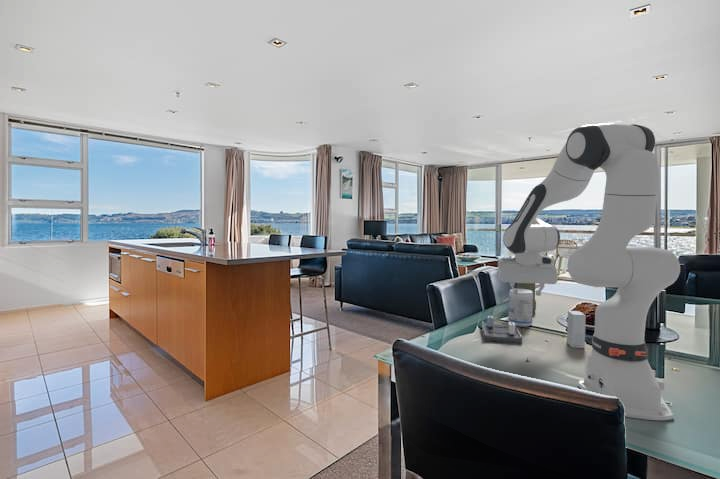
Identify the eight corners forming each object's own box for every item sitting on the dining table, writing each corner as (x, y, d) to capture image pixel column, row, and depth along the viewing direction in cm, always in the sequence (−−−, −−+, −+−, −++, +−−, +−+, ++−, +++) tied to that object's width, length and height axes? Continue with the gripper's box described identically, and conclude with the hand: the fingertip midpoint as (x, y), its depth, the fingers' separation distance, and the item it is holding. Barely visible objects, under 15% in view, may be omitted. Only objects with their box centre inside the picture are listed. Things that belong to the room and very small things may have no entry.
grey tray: (522, 343, 139) (522, 337, 138) (484, 341, 142) (485, 334, 142) (514, 329, 156) (514, 323, 156) (481, 327, 159) (481, 321, 159)
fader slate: (493, 327, 151) (493, 317, 151) (488, 326, 152) (488, 317, 152) (492, 324, 155) (492, 315, 155) (487, 324, 155) (487, 315, 155)
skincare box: (585, 348, 134) (586, 315, 133) (571, 347, 134) (573, 314, 134) (578, 342, 139) (579, 310, 139) (566, 342, 140) (567, 310, 140)
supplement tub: (504, 321, 168) (504, 288, 167) (523, 320, 169) (524, 287, 168) (516, 327, 158) (517, 293, 157) (537, 326, 160) (537, 292, 159)
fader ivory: (515, 334, 142) (515, 324, 142) (509, 334, 142) (509, 324, 142) (513, 331, 145) (513, 321, 145) (508, 331, 146) (508, 321, 146)
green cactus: (517, 316, 176) (519, 241, 174) (513, 309, 188) (515, 239, 185) (538, 317, 174) (540, 241, 172) (532, 310, 186) (534, 239, 183)
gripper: (498, 258, 140) (498, 295, 141) (559, 259, 135) (558, 297, 136) (497, 256, 146) (496, 291, 147) (554, 257, 141) (553, 294, 142)
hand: (526, 294), depth 142 cm, fingers open, 7 cm apart
